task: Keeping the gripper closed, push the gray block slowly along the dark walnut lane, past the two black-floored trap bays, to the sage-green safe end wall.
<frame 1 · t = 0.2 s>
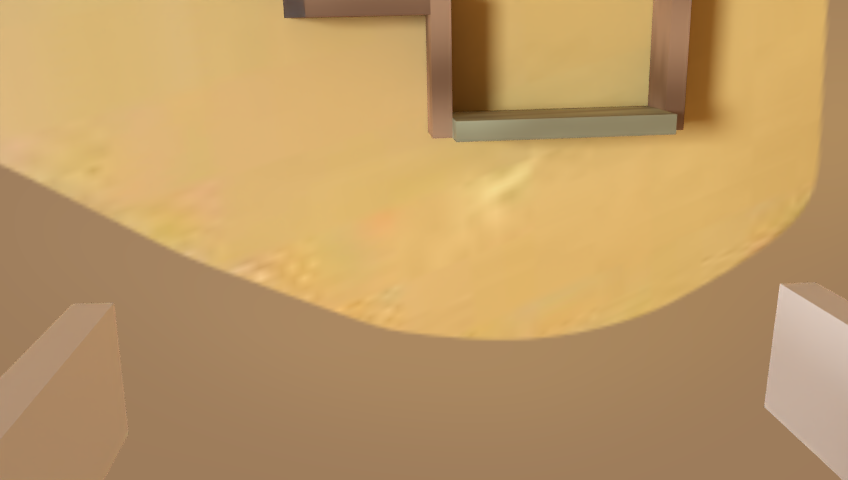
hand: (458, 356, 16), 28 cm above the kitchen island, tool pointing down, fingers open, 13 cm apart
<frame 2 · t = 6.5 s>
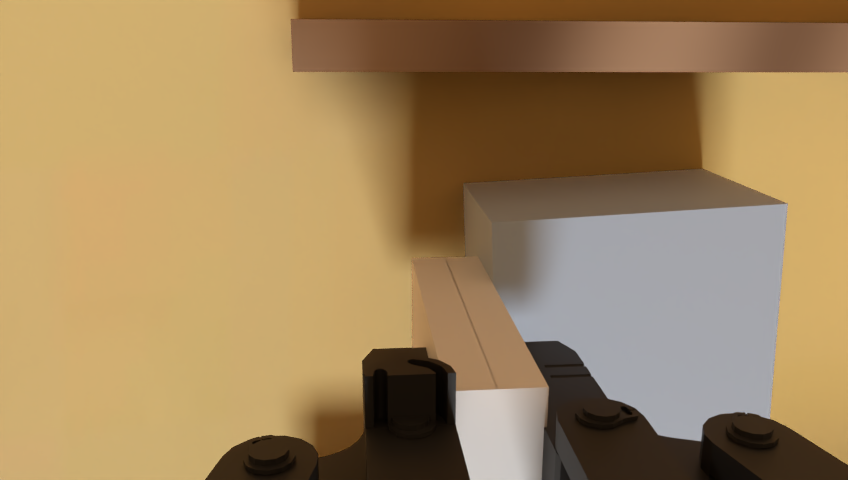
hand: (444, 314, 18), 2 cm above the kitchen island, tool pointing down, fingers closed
gray block: (582, 290, 20), on the kitchen island
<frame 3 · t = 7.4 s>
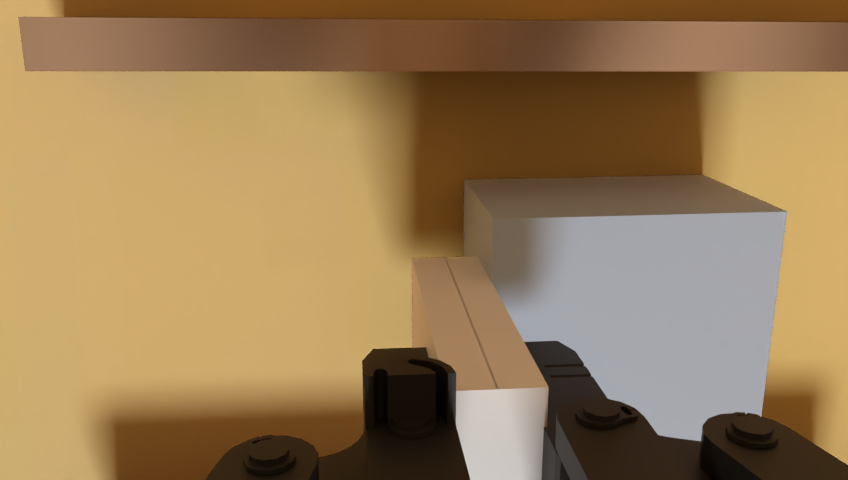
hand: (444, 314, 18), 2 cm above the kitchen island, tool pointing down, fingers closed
gray block: (578, 291, 20), on the kitchen island, touching gripper
trap lane: (732, 282, 21), on the kitchen island
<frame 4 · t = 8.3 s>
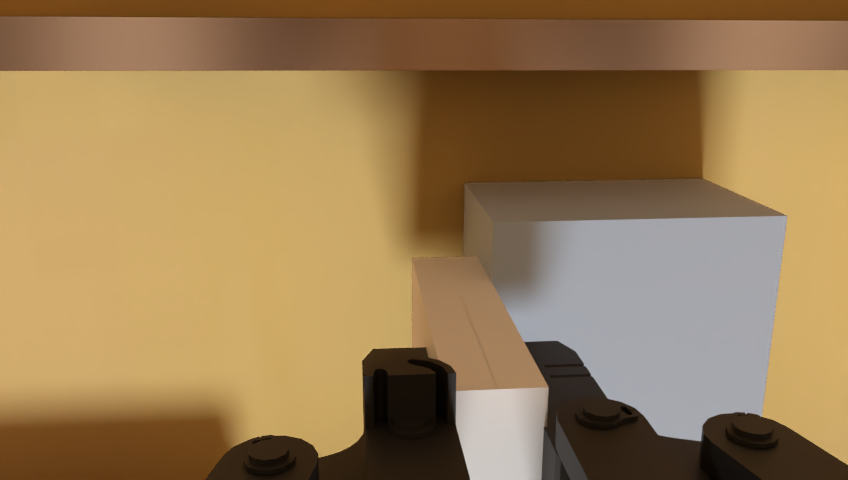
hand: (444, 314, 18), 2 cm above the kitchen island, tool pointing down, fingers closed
gray block: (578, 294, 20), on the kitchen island, touching gripper
trap lane: (530, 286, 20), on the kitchen island
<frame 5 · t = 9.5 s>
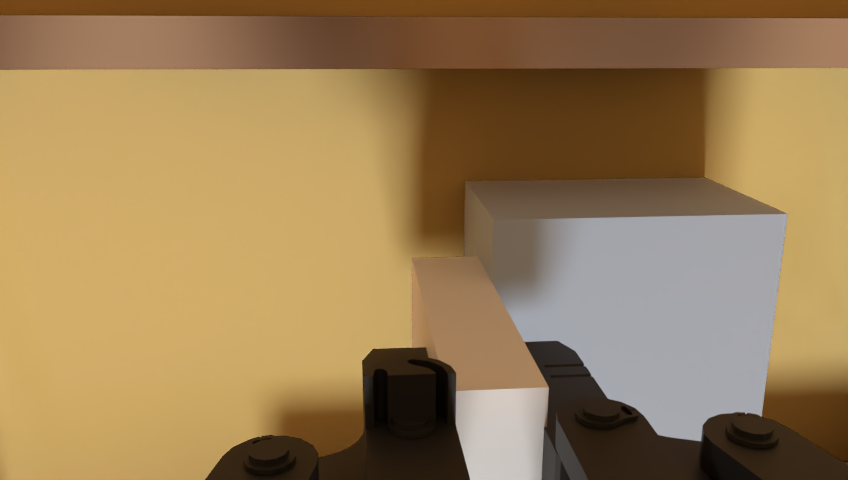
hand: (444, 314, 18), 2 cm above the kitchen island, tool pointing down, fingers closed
gray block: (578, 293, 20), on the kitchen island, touching gripper
trap lane: (286, 291, 19), on the kitchen island
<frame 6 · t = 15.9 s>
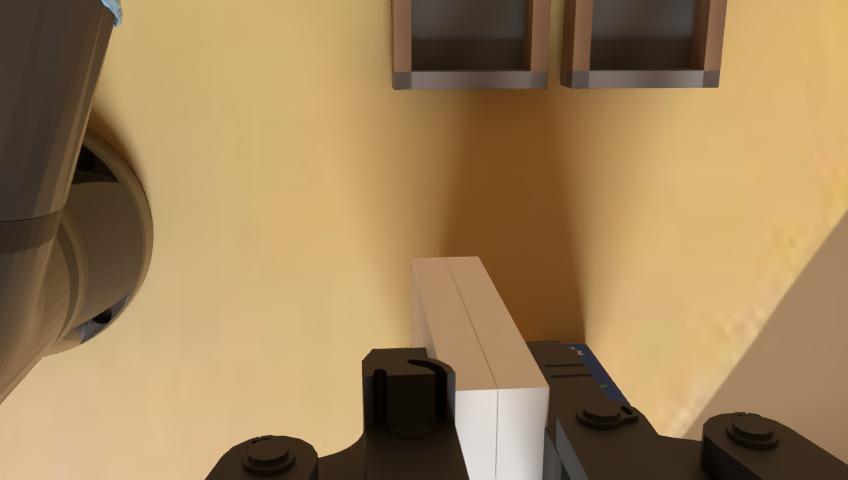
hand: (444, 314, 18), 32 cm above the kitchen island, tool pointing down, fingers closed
beverage box: (503, 386, 55), on the kitchen island
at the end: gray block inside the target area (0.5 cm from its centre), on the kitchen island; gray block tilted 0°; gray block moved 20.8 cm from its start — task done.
